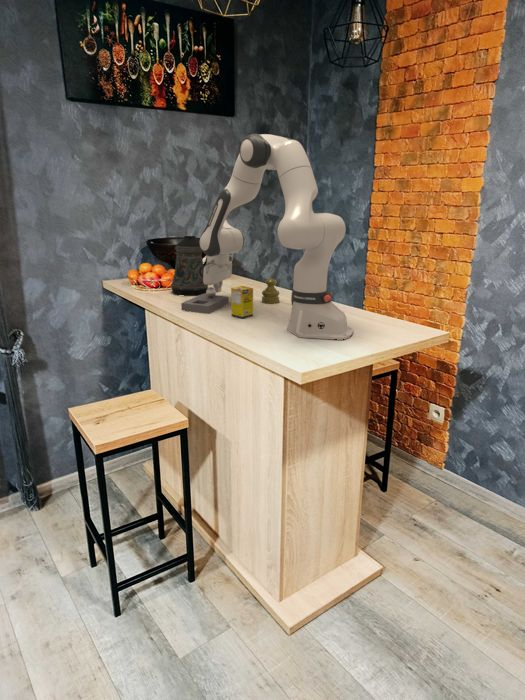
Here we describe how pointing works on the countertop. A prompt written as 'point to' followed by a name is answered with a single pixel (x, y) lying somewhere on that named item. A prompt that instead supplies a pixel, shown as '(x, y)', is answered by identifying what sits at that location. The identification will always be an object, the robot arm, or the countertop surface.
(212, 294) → the steel ball
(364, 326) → the countertop surface
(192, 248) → the beer stein
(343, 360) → the countertop surface
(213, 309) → the hole board
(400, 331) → the countertop surface
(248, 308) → the supplement box
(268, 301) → the olive tiered figure
